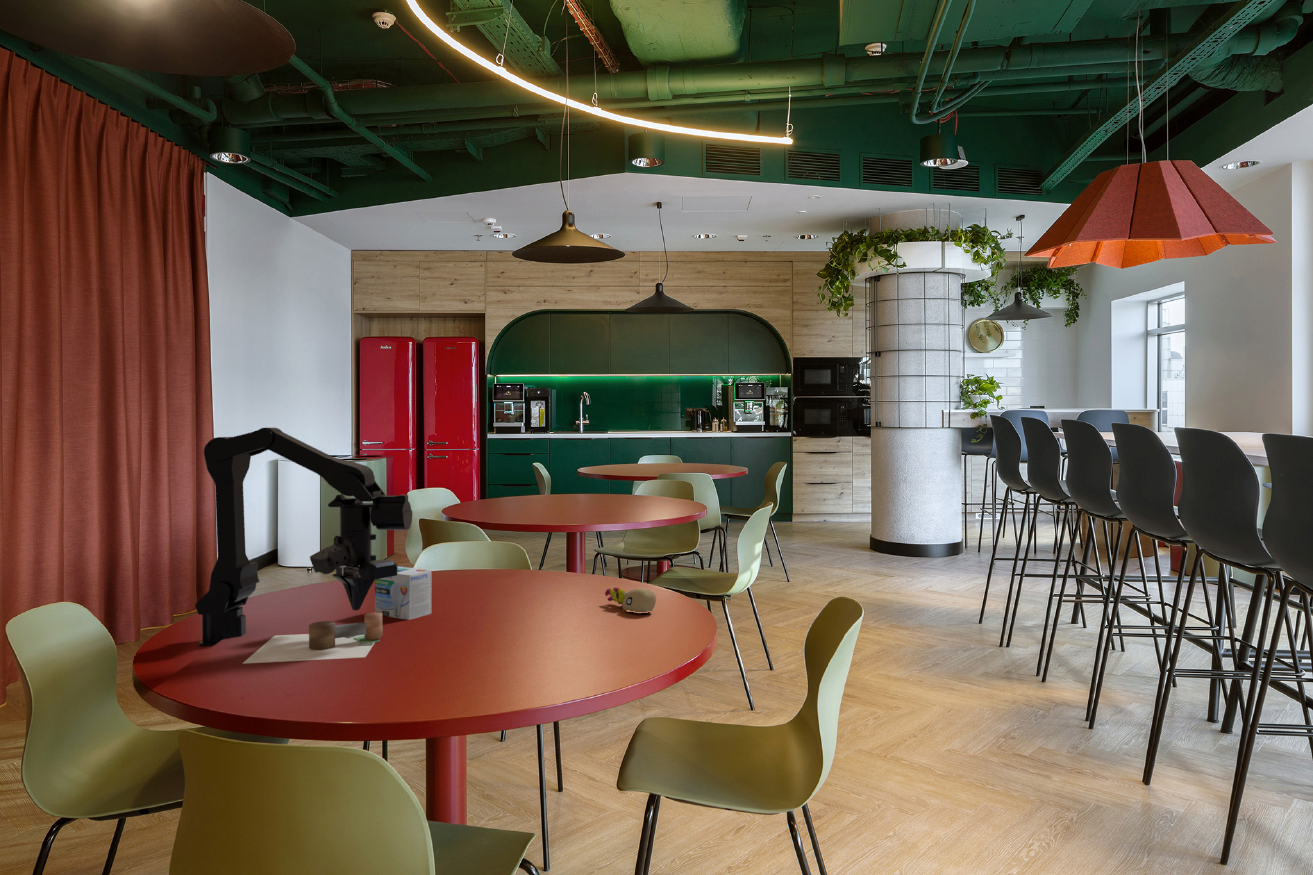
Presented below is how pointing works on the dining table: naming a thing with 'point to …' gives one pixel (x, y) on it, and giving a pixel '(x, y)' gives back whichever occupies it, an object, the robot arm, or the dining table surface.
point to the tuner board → (299, 650)
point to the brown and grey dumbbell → (344, 631)
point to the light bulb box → (404, 594)
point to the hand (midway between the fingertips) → (356, 609)
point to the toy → (633, 599)
